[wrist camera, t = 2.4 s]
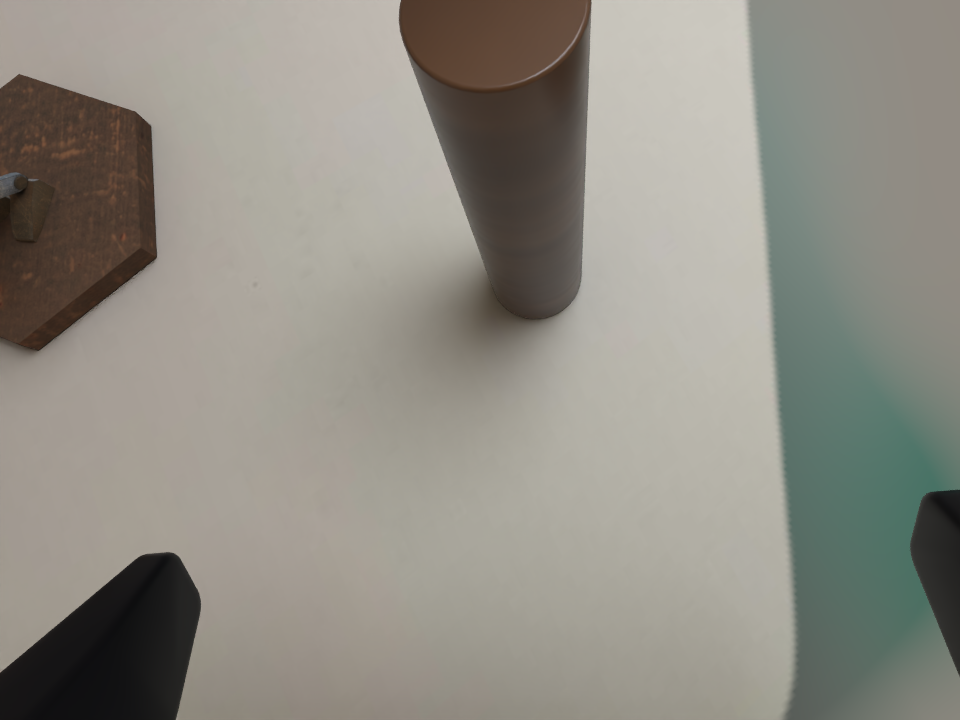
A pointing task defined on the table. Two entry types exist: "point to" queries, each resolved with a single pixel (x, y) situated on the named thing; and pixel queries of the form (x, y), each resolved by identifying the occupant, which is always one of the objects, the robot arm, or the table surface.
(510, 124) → the dowel
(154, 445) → the table surface
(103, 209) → the robot figurine
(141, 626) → the robot arm
